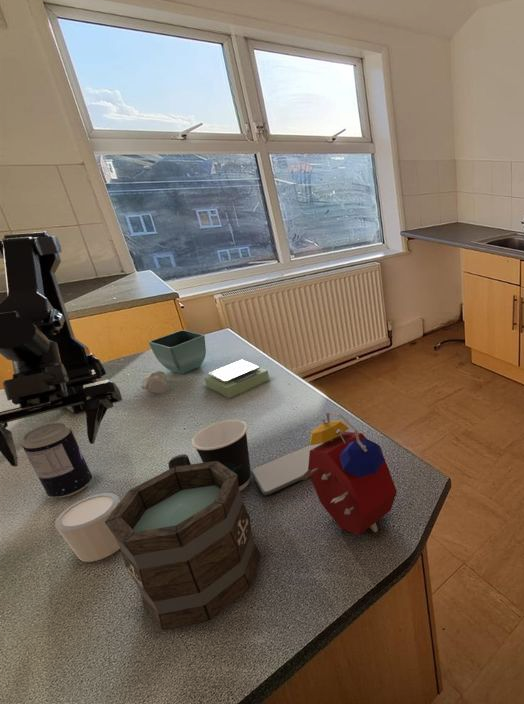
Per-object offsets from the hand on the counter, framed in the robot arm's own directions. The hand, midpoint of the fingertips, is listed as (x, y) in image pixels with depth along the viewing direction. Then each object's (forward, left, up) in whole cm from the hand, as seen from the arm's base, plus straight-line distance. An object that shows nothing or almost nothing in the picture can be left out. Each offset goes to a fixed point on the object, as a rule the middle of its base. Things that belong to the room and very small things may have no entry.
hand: (54, 454), depth 72 cm
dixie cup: (+23, +15, -8) cm, 28 cm away
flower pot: (-30, +32, -8) cm, 45 cm away
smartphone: (+29, +24, -8) cm, 38 cm away
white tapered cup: (+19, -2, -8) cm, 20 cm away
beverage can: (0, 0, -8) cm, 8 cm away
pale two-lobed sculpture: (-25, +23, -8) cm, 35 cm away
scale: (-11, +35, -8) cm, 38 cm away
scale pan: (-12, +35, -5) cm, 37 cm away
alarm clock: (+47, +20, -8) cm, 51 cm away
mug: (+35, +4, -8) cm, 36 cm away
